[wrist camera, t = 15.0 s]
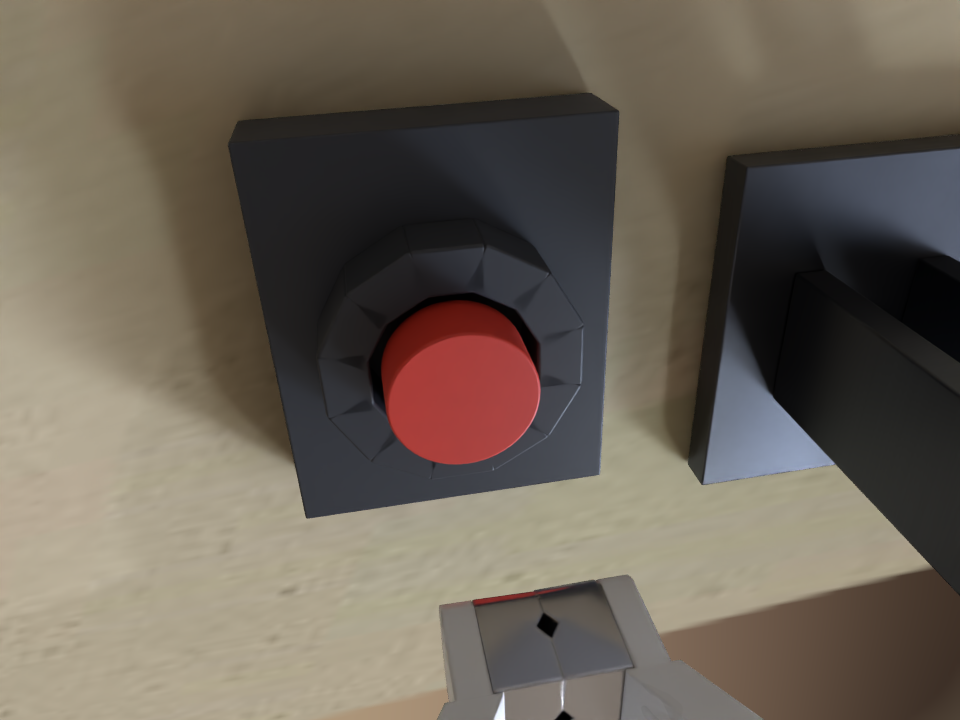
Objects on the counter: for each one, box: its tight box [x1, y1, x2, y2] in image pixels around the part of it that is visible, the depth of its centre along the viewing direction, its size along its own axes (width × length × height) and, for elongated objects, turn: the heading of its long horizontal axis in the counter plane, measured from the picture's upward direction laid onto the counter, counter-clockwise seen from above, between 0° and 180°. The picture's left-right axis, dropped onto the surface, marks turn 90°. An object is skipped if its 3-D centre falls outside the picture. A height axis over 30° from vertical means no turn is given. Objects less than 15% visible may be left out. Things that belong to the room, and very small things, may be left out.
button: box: [381, 300, 541, 464], centre depth 18 cm, size 4×4×2 cm
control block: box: [228, 93, 619, 518], centre depth 20 cm, size 11×9×4 cm
